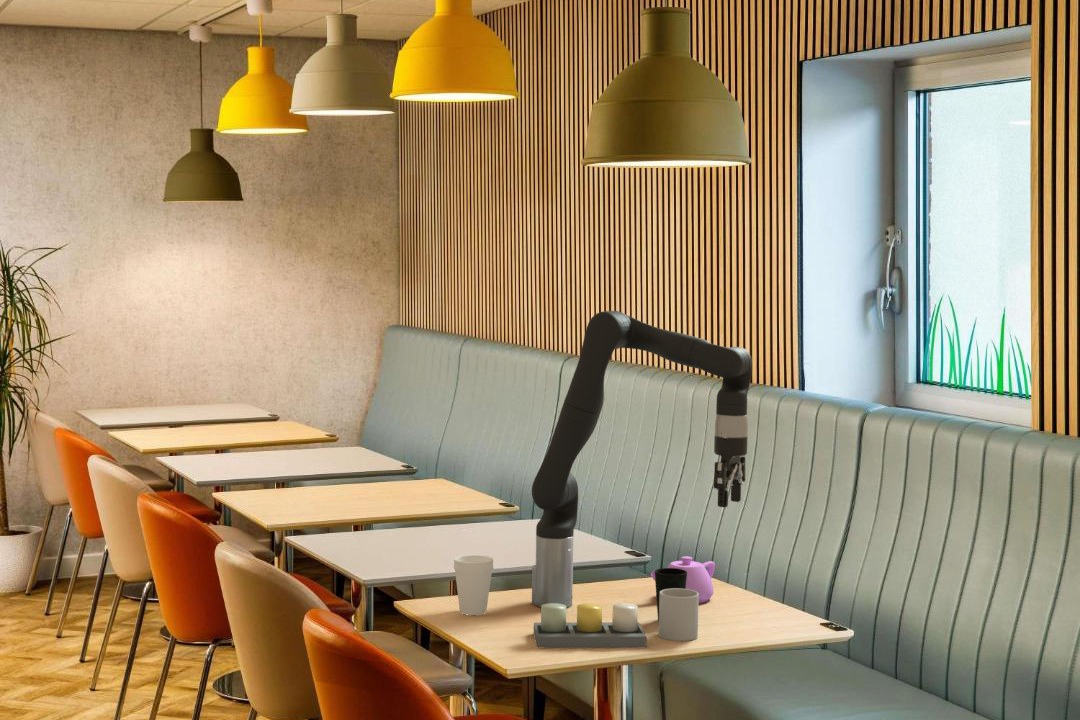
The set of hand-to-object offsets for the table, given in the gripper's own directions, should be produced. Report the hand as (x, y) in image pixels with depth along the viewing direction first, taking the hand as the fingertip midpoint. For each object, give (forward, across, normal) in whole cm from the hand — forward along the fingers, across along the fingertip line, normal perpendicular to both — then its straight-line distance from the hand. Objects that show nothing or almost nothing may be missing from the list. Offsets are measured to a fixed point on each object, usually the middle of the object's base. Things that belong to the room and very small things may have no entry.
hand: (729, 504), depth 315 cm
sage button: (+27, +29, -30) cm, 50 cm away
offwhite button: (+27, +21, -16) cm, 38 cm away
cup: (+30, 0, -14) cm, 33 cm away
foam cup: (+30, +17, -58) cm, 67 cm away
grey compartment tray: (+29, +25, -23) cm, 45 cm away
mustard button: (+27, +25, -23) cm, 43 cm away
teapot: (+30, -23, -20) cm, 42 cm away
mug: (+30, +10, -7) cm, 32 cm away
